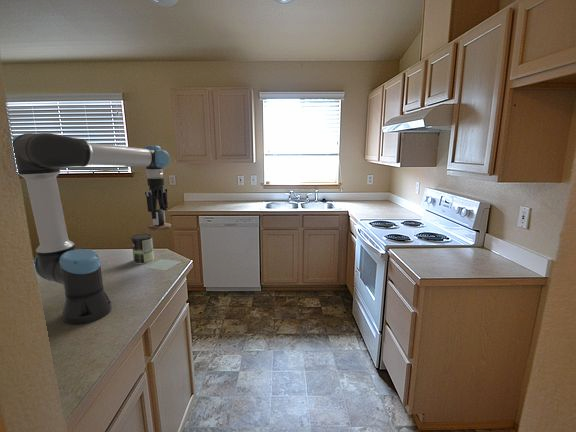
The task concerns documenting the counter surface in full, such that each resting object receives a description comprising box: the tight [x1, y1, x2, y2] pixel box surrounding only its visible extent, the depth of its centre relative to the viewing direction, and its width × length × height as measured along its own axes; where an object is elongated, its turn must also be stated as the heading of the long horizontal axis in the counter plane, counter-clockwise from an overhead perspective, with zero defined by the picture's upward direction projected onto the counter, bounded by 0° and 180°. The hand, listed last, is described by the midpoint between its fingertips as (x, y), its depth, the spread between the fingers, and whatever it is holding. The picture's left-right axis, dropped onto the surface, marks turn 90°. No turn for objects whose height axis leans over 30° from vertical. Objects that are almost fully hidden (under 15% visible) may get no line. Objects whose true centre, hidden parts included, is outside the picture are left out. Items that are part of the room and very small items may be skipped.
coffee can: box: [130, 233, 155, 265], centre depth 166 cm, size 10×10×14 cm
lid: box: [147, 208, 172, 231], centre depth 157 cm, size 11×11×9 cm
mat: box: [144, 258, 182, 271], centre depth 162 cm, size 13×13×1 cm
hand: (159, 223), depth 157 cm, fingers closed on lid, 4 cm apart
